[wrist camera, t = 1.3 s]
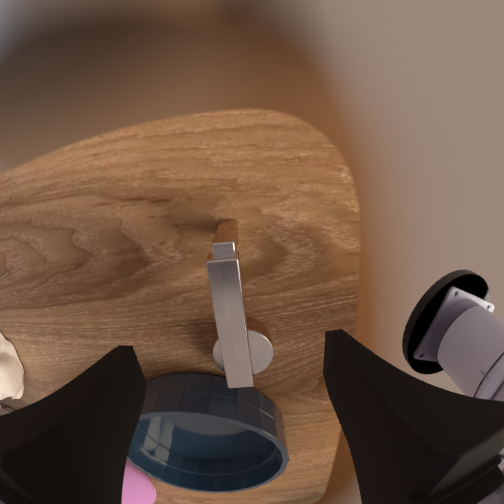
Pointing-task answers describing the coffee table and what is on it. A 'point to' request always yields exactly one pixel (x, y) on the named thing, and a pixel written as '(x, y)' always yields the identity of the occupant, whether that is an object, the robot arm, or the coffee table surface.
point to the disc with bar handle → (234, 314)
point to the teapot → (137, 487)
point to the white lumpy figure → (10, 371)
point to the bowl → (208, 435)
